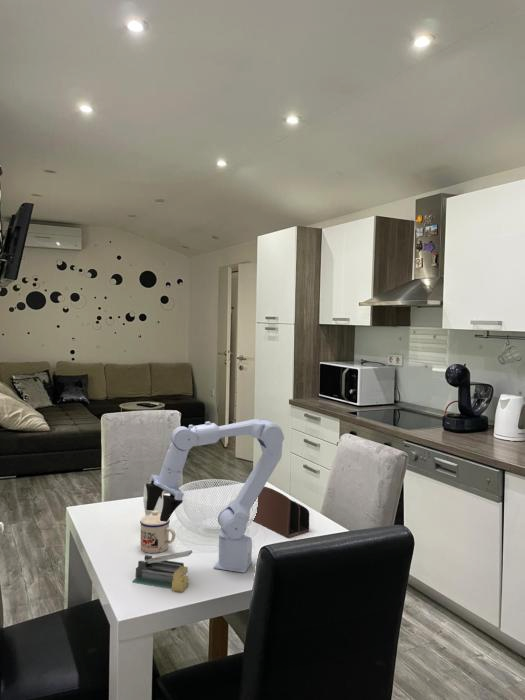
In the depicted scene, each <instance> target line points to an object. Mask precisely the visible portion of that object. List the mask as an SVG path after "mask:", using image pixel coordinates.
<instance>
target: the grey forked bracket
mask: <svg viewBox="0 0 525 700" xmlns="http://www.w3.org/2000/svg"><path fill="white" fill-rule="evenodd" d="M146 558H148V559H150V558H153V555H147V554H145V555H144V560H145V559H146ZM144 560H138V562H137V565H138V566H137V567H135V578H136V577H137V576H142V570H143V569H145V567H148V566H149V565H150V564H151V563H150V564H146V561H144Z"/></svg>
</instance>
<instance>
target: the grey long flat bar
mask: <svg viewBox="0 0 525 700" xmlns="http://www.w3.org/2000/svg"><path fill="white" fill-rule="evenodd" d="M192 553H193V550H186V551H180V552H175V553H172V554H171V553H170V554H166V555H159V556H154V557H152V558H150V559H148V558H146V559H145V558H144V560H143V561H146V564H150V563H155V562H160V561H165V560H167V561H171V560H176V559H179V558H184V557H189V556H190V555H191V554H192Z"/></svg>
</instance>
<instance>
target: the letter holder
mask: <svg viewBox="0 0 525 700" xmlns="http://www.w3.org/2000/svg"><path fill="white" fill-rule="evenodd" d="M253 522H255V523H257V524H258V525H261V526H262V527H263V528H264V527H265V528H266V529H269V530H270V531H273V532H274V533H277V534H278V535H280V536H282V537H284V538H286V539H289V538H294V537H296V536H300V535H304V534H307V533H310V511H309V509H308V508H307V507H306V506H304V505H301V504H300V503H298V502H297V501H294V500H292V499H290V498H289V497H288V496H286V495H285V494H282V493H281V492H280V491H277V490H275V489H274V488H270V487H268V486H264V487H263V489H262V491H261V492H260V494H259V496H258V507H257V513H256V516H255V518H254V521H253Z"/></svg>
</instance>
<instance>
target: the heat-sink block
mask: <svg viewBox="0 0 525 700" xmlns="http://www.w3.org/2000/svg"><path fill="white" fill-rule="evenodd" d="M180 566H184V567H185V564H184V562H182V561H181V562H179V561H175V560H174V561H173V560H165V561H160V562H155V563H151V564H150V565H149V566H148V567H145V569H143V570H142V576H137V577H136V576H135V578H134V579H133V580H132V583H135V584H141V585H148V586H152V585H153V587H154V586H155V587H158V586H159V588H167V589H171V590H172V581H173V575H174V573H175V572H176V570H177V569H178V568H179V567H180ZM187 572H188V570H187V571H186V572H185V573H184V575H186V573H187Z"/></svg>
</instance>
